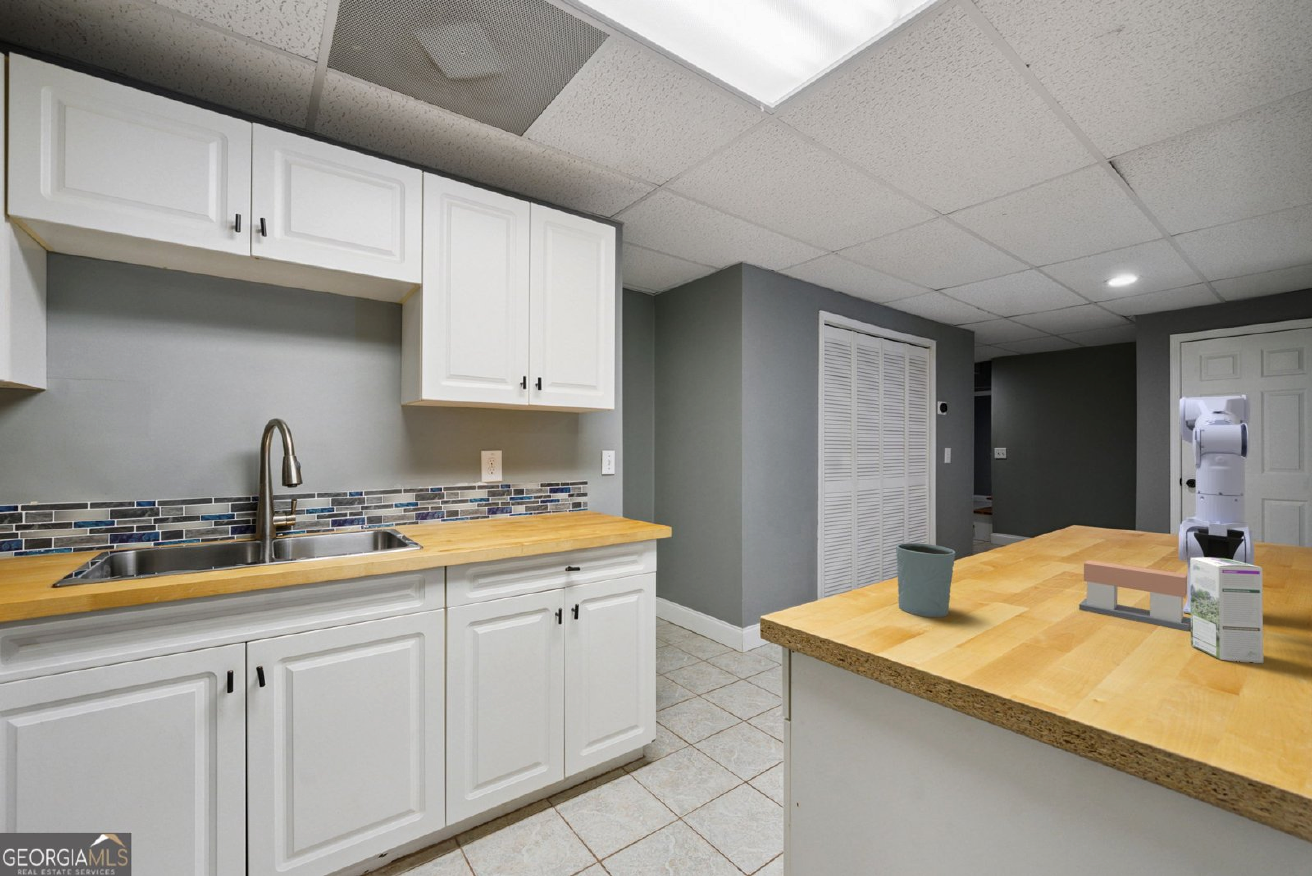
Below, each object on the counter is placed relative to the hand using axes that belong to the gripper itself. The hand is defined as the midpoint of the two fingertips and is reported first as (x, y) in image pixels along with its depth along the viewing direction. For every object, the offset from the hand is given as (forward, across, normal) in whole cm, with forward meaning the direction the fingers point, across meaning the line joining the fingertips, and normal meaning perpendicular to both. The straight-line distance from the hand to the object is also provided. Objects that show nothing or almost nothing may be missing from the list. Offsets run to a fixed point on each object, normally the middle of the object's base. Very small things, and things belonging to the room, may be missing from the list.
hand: (1219, 573), depth 89 cm
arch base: (+10, -1, -11) cm, 15 cm away
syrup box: (+11, +12, +1) cm, 16 cm away
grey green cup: (+11, +26, -38) cm, 47 cm away
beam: (+5, -1, -11) cm, 12 cm away
